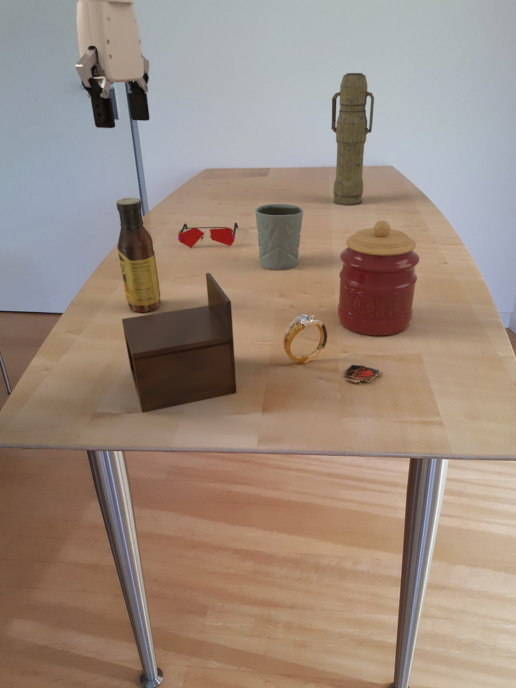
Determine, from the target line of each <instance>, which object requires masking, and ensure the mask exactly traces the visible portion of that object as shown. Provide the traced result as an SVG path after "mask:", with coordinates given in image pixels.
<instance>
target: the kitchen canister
mask: <svg viewBox="0 0 516 688" xmlns="http://www.w3.org/2000/svg"><path fill="white" fill-rule="evenodd" d="M345 244H346V246H347V247H346V248H345V249H343V250H341V253H340V254H339V256H340V260H341V262H342V268H341V270H340V271H339V275H338V276H339V293H338V294H339V296H338V304H337V315H338V321H339V324H340V325H342V327H344V328H346V329H347V330H349V331H351V332H354V333H357V334H361V335H365V336H375V337H376V335H377V336H380V335H382V336H390V335H396V334H399V333H401V332H404V331H405V330H406V329H407V328H408V327H409V326H410V324H411V321H412V319H413V313H414V309H413V306H414V305H413V304H414V297H415V290H416V283H417V281H418V275H417V273H416V266H417V265H418V264H419V262H420V256H419V254H418V253H417V252H416V251H415V248H416V246H417V242H416V241H415V240H414V239H413V238H411V237H409V235H408V234H406V232H404V231H401V230H398V229H394V228H391V225H390V224H389V222H388V221H386V220H378V221H377V222H376V223H375V224H374V226H373V227H369V228H363V229H361V230H358V231H357V232H355V233H354V234H353V235H350V236H349V237H347V238H346V241H345ZM398 332H399V333H398ZM395 333H396V334H395ZM380 337H381V336H380Z"/></svg>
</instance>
